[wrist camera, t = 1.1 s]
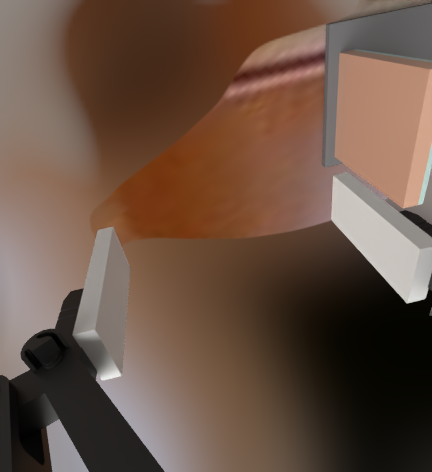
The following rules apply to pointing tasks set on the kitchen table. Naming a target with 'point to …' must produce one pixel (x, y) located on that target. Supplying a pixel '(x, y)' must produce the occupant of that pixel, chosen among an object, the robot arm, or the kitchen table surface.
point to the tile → (386, 122)
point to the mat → (371, 39)
